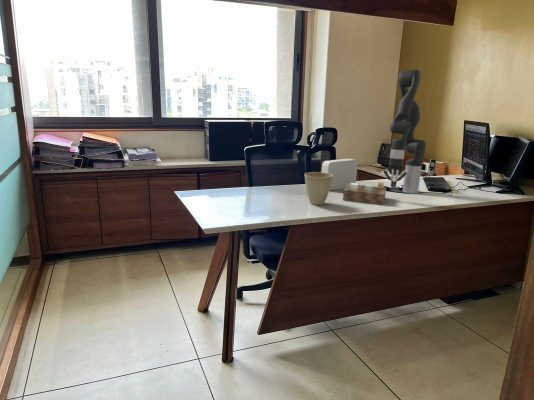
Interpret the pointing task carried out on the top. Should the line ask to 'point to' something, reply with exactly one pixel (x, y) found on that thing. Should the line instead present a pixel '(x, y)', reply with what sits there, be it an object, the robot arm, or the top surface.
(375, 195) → the switch panel
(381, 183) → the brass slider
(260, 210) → the top surface
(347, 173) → the rounded white slab
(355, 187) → the off-white button
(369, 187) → the sage green button
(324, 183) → the plant pot
